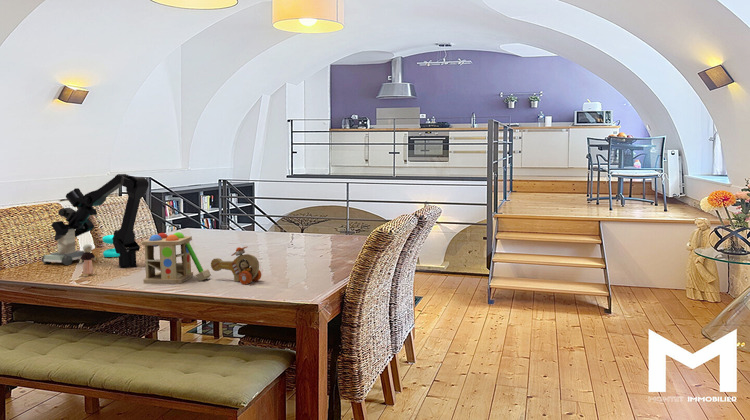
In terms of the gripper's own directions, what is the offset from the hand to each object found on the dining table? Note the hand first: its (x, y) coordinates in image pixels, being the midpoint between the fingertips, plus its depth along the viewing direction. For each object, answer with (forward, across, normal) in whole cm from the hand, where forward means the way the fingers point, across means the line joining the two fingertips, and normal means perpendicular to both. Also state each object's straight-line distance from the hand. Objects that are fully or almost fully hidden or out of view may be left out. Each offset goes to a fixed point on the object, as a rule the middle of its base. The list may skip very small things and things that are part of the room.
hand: (64, 238), depth 265 cm
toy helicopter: (-61, +12, +76) cm, 99 cm away
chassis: (+6, 0, +8) cm, 11 cm away
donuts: (+1, -20, +14) cm, 24 cm away
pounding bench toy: (-45, +16, +60) cm, 77 cm away
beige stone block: (+5, 0, +7) cm, 8 cm away
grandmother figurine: (-17, +20, +32) cm, 41 cm away
